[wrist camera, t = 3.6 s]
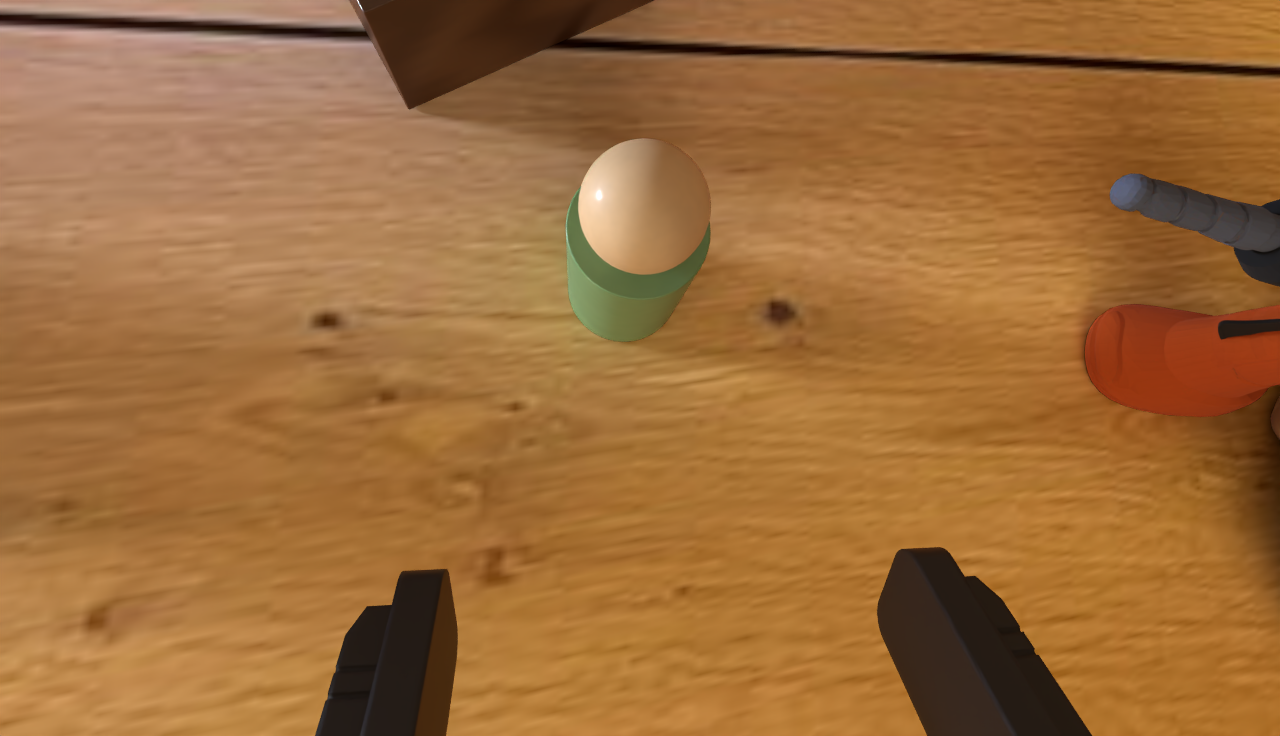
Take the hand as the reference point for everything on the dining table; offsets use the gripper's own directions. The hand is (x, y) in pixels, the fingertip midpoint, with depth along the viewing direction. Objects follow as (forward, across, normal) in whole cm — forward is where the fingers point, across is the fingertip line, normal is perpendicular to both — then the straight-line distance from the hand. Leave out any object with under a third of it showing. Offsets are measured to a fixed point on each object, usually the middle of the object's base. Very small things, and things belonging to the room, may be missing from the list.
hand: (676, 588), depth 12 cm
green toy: (+19, -1, +3) cm, 19 cm away
